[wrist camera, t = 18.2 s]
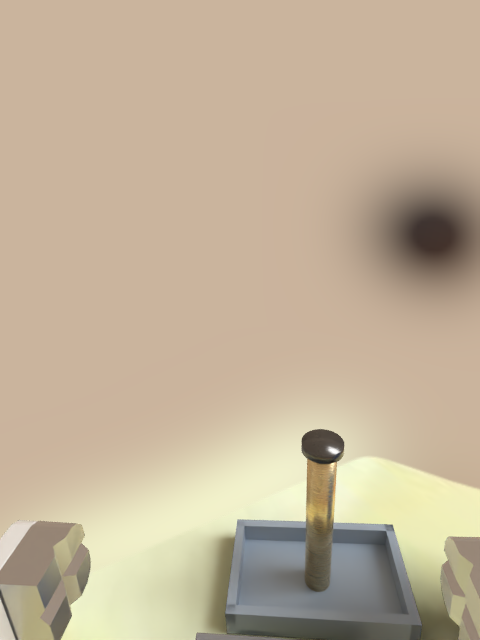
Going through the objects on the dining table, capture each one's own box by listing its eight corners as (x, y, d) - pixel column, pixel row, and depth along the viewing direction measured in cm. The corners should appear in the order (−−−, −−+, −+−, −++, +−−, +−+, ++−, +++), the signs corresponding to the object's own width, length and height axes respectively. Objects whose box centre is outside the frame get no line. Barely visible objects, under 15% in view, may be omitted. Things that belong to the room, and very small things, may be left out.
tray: (227, 633, 36) (225, 613, 36) (238, 537, 46) (237, 519, 45) (419, 645, 35) (422, 625, 34) (390, 543, 44) (392, 524, 43)
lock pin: (300, 595, 38) (302, 455, 33) (298, 562, 42) (300, 428, 36) (337, 598, 38) (347, 456, 32) (333, 564, 41) (341, 429, 36)
